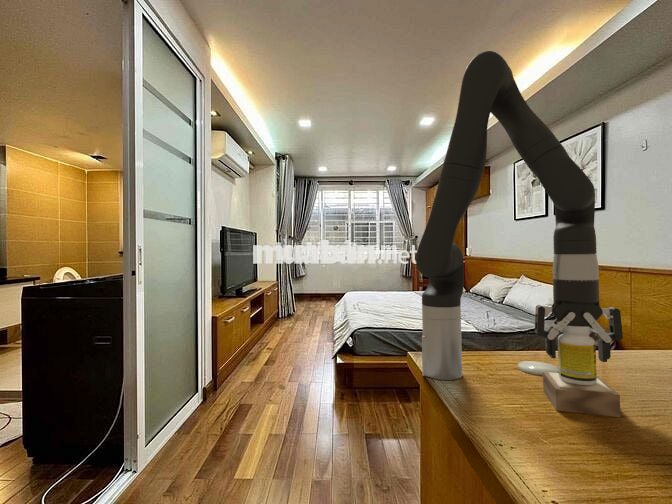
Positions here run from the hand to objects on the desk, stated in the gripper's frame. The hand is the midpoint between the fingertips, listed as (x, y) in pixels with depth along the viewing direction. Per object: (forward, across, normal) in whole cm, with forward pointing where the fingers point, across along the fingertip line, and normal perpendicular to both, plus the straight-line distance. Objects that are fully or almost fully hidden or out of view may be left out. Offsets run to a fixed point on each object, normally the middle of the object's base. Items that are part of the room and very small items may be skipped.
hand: (577, 359), depth 69 cm
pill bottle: (+4, 0, 0) cm, 5 cm away
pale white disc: (+9, -3, +20) cm, 22 cm away
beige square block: (+9, 0, 0) cm, 9 cm away
